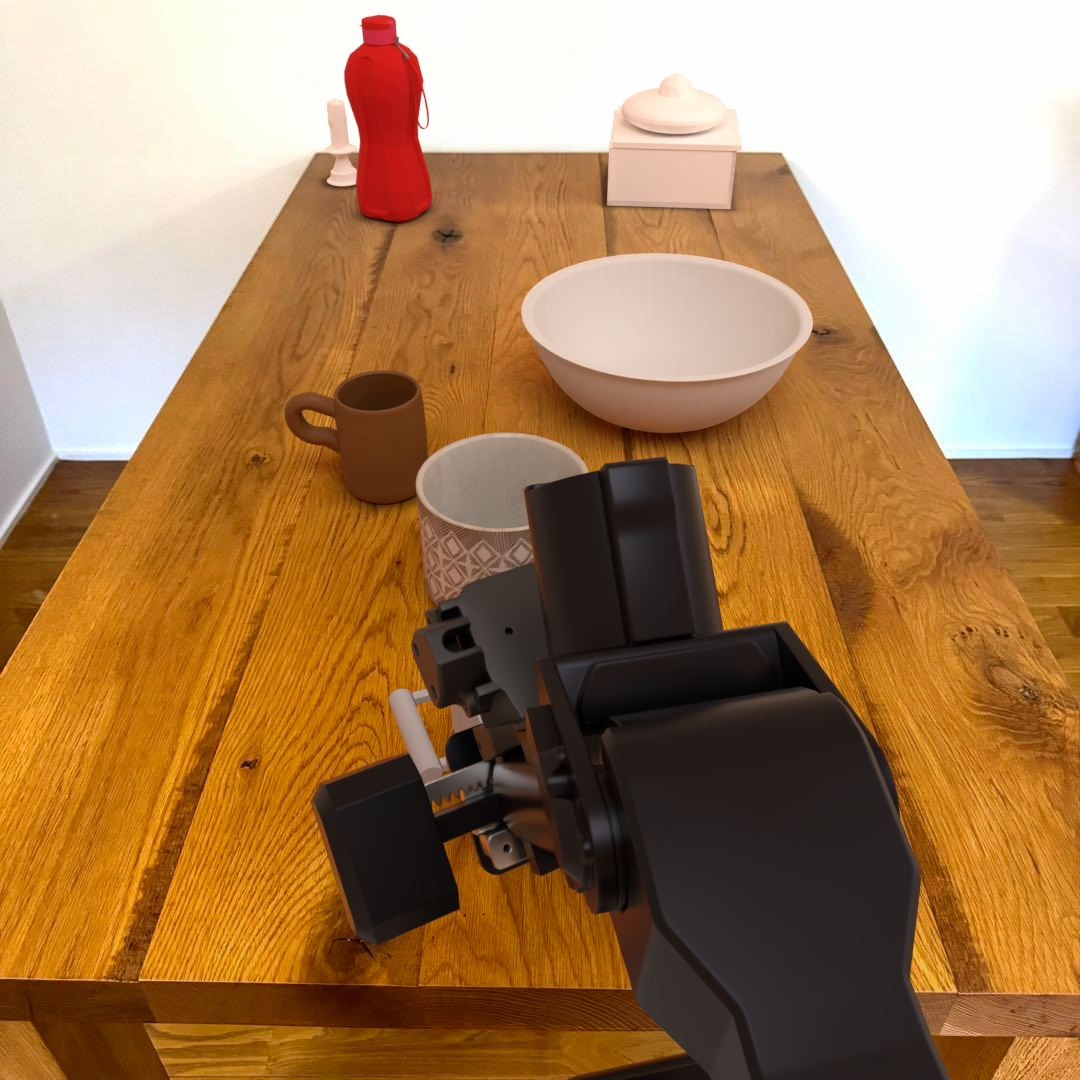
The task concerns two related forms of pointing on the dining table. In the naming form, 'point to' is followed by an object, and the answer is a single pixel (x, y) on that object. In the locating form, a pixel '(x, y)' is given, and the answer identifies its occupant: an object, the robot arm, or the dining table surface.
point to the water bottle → (387, 123)
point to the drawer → (424, 730)
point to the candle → (340, 146)
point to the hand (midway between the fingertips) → (498, 771)
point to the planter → (482, 505)
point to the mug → (370, 432)
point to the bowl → (665, 337)
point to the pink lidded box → (673, 149)
